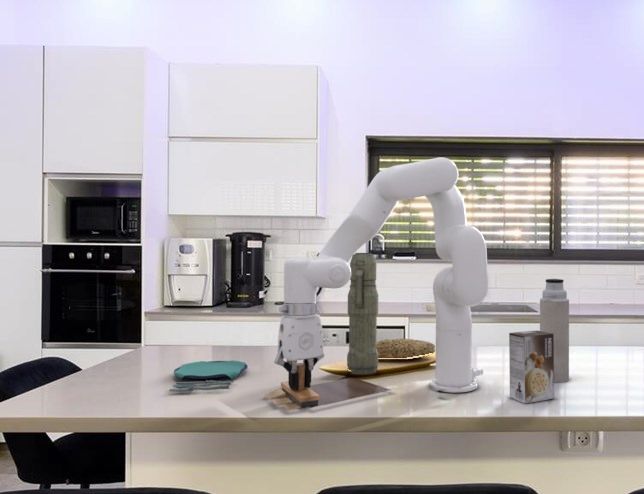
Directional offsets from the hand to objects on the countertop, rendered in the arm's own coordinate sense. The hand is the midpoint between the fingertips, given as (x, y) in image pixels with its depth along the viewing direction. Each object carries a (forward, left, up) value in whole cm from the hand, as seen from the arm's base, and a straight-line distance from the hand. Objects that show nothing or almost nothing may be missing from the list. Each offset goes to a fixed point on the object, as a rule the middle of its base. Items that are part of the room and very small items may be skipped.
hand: (299, 387), depth 131 cm
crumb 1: (+3, -6, -3) cm, 8 cm away
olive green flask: (-28, -14, -4) cm, 32 cm away
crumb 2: (+4, -1, -4) cm, 6 cm away
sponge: (-50, -22, -4) cm, 55 cm away
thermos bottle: (-66, +25, -4) cm, 71 cm away
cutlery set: (+8, -37, -4) cm, 38 cm away
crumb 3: (+4, +4, -4) cm, 7 cm away
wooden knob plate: (0, 0, -3) cm, 3 cm away
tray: (-10, -1, -4) cm, 11 cm away
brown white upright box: (-45, +33, -4) cm, 56 cm away
